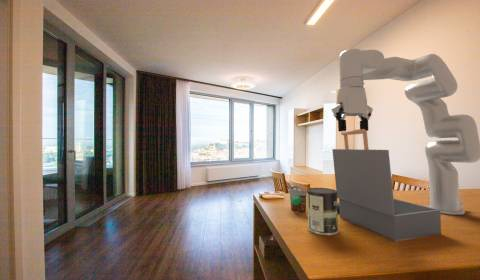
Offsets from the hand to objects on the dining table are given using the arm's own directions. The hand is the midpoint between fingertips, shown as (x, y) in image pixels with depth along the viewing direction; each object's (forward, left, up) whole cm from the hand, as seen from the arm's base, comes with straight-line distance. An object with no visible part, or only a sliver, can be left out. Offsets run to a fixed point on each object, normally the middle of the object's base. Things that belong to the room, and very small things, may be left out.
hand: (353, 131), depth 78 cm
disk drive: (-7, -22, -36) cm, 43 cm away
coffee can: (+12, -3, -36) cm, 38 cm away
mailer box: (-13, 0, -35) cm, 38 cm away
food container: (+9, -27, -36) cm, 45 cm away
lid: (-2, 0, -13) cm, 14 cm away
